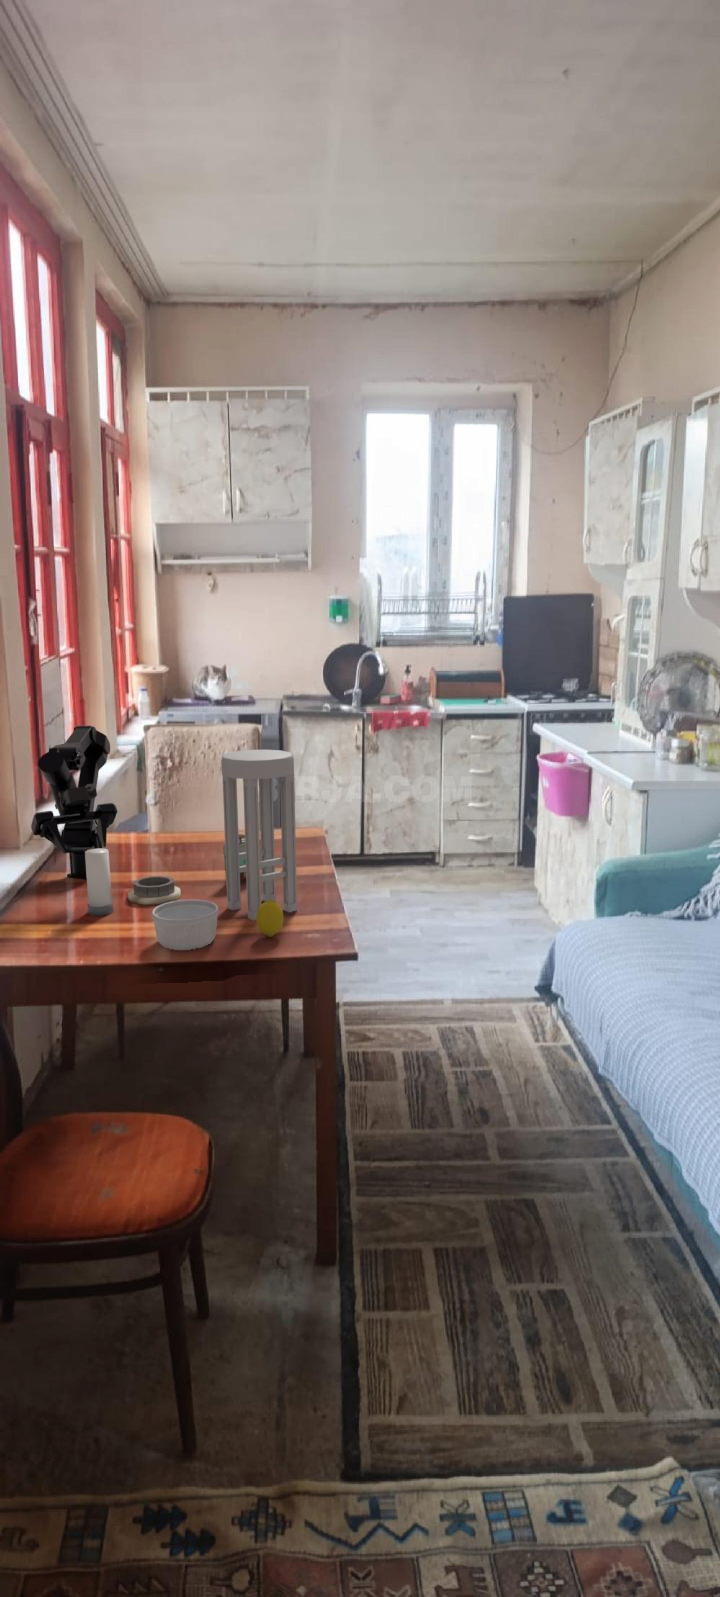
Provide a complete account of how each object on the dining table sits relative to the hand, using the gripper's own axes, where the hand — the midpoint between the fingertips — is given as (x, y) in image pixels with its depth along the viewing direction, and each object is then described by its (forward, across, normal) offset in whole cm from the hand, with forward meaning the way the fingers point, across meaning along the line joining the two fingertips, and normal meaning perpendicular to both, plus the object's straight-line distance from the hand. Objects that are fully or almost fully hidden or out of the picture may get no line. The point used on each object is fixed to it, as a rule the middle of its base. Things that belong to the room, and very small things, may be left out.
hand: (85, 849), depth 224 cm
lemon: (+40, +23, -22) cm, 51 cm away
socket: (+12, +14, +7) cm, 20 cm away
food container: (+11, +38, +7) cm, 41 cm away
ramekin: (+35, +8, -16) cm, 39 cm away
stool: (+28, +30, -10) cm, 42 cm away
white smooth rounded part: (+14, 0, +4) cm, 15 cm away
